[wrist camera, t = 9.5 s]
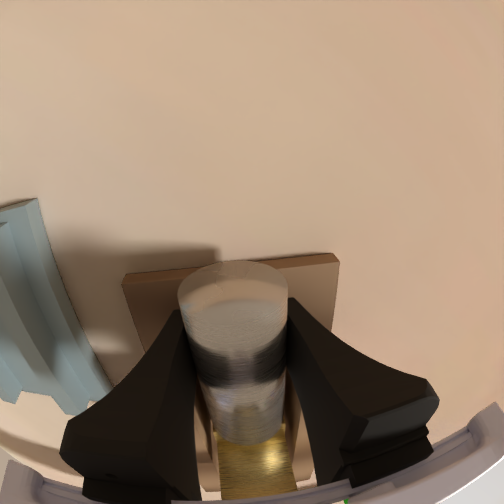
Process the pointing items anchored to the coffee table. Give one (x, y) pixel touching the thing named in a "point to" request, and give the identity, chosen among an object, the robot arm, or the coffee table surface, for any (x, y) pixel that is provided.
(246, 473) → the tan blocky piece
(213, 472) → the socket block
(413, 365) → the coffee table surface
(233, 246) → the coffee table surface
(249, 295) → the shiny metal cylinder
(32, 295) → the rack
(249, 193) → the coffee table surface
